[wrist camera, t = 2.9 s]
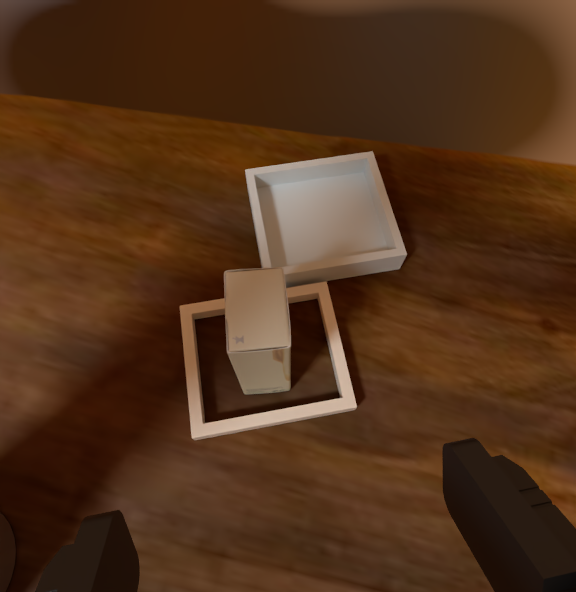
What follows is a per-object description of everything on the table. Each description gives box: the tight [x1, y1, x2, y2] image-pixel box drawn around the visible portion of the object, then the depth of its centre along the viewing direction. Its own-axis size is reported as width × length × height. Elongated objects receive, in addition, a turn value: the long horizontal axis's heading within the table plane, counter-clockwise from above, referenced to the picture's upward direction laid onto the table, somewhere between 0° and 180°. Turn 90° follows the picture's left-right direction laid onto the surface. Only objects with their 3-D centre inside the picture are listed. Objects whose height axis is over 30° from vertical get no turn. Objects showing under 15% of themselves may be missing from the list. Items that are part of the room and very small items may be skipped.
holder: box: [180, 281, 357, 440], centre depth 40 cm, size 12×14×2 cm
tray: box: [245, 151, 407, 288], centre depth 45 cm, size 13×14×3 cm
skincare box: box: [224, 267, 291, 394], centre depth 35 cm, size 6×4×12 cm
